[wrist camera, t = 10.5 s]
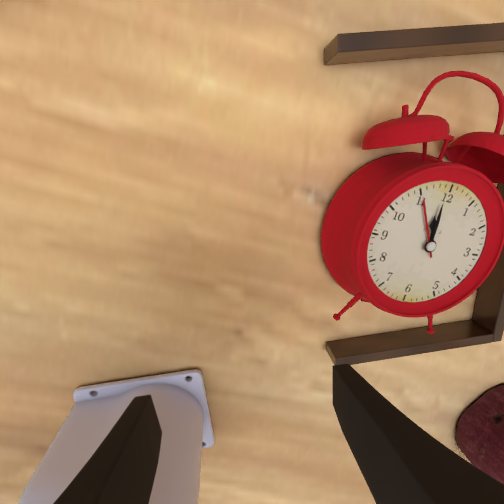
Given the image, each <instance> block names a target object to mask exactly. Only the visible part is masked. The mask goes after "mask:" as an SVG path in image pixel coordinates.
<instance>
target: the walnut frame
mask: <svg viewBox="0 0 504 504" xmlns="http://www.w3.org/2000/svg"><path fill="white" fill-rule="evenodd" d="M500 51H504V23H492V24H477V25H463V26H448V27H433V28H419V29H404V30H390V31H375V32H360V33H346V34H338V35H337V36H336V37H335V38H334V39H333V40H332V41H331V42H330V43H329V44H328V45H327V47H326V48H325V49H324V65H330V64H343V63H356V62H369V61H382V60H395V59H408V58H421V57H434V56H447V55H460V54H474V53H487V52H500ZM498 191H499V192H500V194H501V196H502V199H503V201H504V184H501V183H499V184H498ZM428 328H429V326H428V327H422V328H415V329H408V330H402V331H395V332H389V333H382V334H376V335H369V336H362V337H356V338H349V339H343V340H336V341H329V342H326V350H327V352H328V354H329V356H330V358H331V359H332V361H333V363H334V365H341V364H347V363H348V364H349V365H353V364H359V363H365V362H371V361H378V360H384V359H390V358H397V357H403V356H409V355H415V354H422V353H428V352H434V351H440V350H447V349H453V348H459V347H466V346H472V345H478V344H484V343H491V342H496V341H501V339H502V335H503V331H504V245H503V249H502V251H501V254H500V256H499V259H498V261H497V263H496V264H495V266H494V268H493V270H492V271H491V273H490V274H489V276H488V277H487V278H486V279H485V281H484V282H483V283H482V284H481V285H480V286H479V287H478V292H477V298H476V303H475V308H474V313H473V318H472V320H468V321H461V322H455V323H448V324H441V325H435V326H432V328H433V329H434V331H435V333H434V334H429V333H428V332H427V329H428Z"/></svg>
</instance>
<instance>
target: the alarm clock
mask: <svg viewBox="0 0 504 504" xmlns="http://www.w3.org/2000/svg"><path fill="white" fill-rule="evenodd" d="M454 76H460V77H466V78H471V79H474V80H477V81H479V82H481V83H483V84H485V85H486V86H488V87H489V88H490V89H491V90H492V91H493V92H494V93H495V94H496V97H497V99H498V103H499V113H498V120H497V125H496V129H495V132H494V133H491V132H472V133H467V134H465V135H462V136H461V137H459V138H457V139H456V140H454V141H453V139H454V137H453V136H450V135H449V132H450V131H449V124H448V123H447V121H446V120H445V119H443V118H442V117H439V116H434V115H417V114H418V112H419V111H420V109H421V107H422V105H423V103H424V101H425V99H426V97H427V96H428V94H429V92H430V91H431V89H432V88H433V87H434V86H435V85H436V83H438V82H439V81H441V80H442V79H445V78H447V77H454ZM408 107H409V106H408V105H404V106H402V117H401V118H397V119H392V120H389V121H386V122H383V123H380V124H377V125H375V126H374V127H372V128H371V129H370V130H368V131H367V132H366V134H365V136H364V139H363V146H362V150H367V149H377V148H385V147H393V146H401V145H409V144H416V143H423V153H415V152H405V153H397V154H391V155H387V156H384V157H381V158H378V159H376V160H374V161H372V162H370V163H368V164H366V165H365V166H363V167H361V168H360V169H359V170H357V171H356V172H355V173H354V174H352V175H351V176H350V177H349V178H348V179H347V180H346V181H345V182H344V184H343V185H342V186H341V187H340V188H339V190H338V191H337V193H336V194H335V196H334V197H333V199H332V201H331V203H330V205H329V207H328V209H327V212H326V215H325V217H324V221H323V226H322V232H321V248H322V254H323V258H324V262H325V264H326V267H327V269H328V271H329V272H330V274H331V276H332V277H333V278H334V280H335V281H336V282H337V283H338V284H339V285H340V286H341V287H342V288H343V289H344V290H346V291H347V292H349V293H350V294H352V295H354V296H355V297H354V298H353V299H351V300H350V301H349V302H348V303H347V305H346V306H345V307H344V308H343V309H342V310H341V311H340V312H339V313H338V314H334V315H333V318H334V319H335V320H336V321H337V320H340V316H341V315H342V314H343V313H344V312H345V311H346V310H347V309H349V308H350V307H352V306H353V305H354V304H355V303H356V302H357V301H358V300H359V299H360V298H361V299H360V300H361V301H364V302H370V303H371V304H373V305H374V306H376V307H377V308H379V309H381V310H383V311H386V312H388V313H392V314H394V315H398V316H402V317H425V316H427V318H428V325H429V328H428V329H427V332H428V333H429V334H434V333H435V331H434V329H433V328H432V319H433V315H434V314H437V313H440V312H443V311H445V310H448V309H450V308H452V307H453V306H455V305H457V304H459V303H460V302H462V301H463V300H464V299H466V298H467V297H469V296H470V295H471V294H472V293H473V292H474V291H475V290H476V289H477V288H478V287H479V286H480V285H481V284H482V283H483V282H484V281H485V279H486V278H487V277H488V276H489V274H490V273H491V271H492V270H493V268H494V266H495V264H496V263H497V261H498V259H499V256H500V254H501V251H502V249H503V245H504V201H503V199H502V196H501V194H500V192H499V191H498V189H497V188H496V186H495V185H494V184H493V183H501V184H504V135H500V130H501V127H502V124H503V119H504V96H503V94H502V91H501V90H500V89H499V87H498V86H497V85H496V84H495V83H493V82H492V81H491V80H489V79H487V78H485V77H483V76H481V75H478V74H476V73H471V72H466V71H450V72H447V73H444V74H442V75H440V76H438V77H436V78H435V79H434V80H433V81H432V82H431V83H430V84H429V86H428V87H427V88H426V90H425V91H424V93H423V95H422V97H421V99H420V101H419V103H418V105H417V107H416V109H415V111H414V112H413V113H412V114H410V115H408ZM437 140H445V142H444V145H443V147H442V150H441V153H440V155H439V158H435V157H433V156H430V155H427V154H426V152H427V142H430V141H437ZM452 141H453V142H452ZM449 142H452V143H451V144H450V145H449V147H448V148H447V145H448V143H449ZM446 148H447V150H446ZM445 151H446V152H445ZM444 153H445V154H446V156H447V158H448V160H449V161H450V162H451V163H450V162H443V161H442V158H443V156H444Z"/></svg>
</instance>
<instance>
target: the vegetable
mask: <svg viewBox="0 0 504 504" xmlns="http://www.w3.org/2000/svg"><path fill="white" fill-rule="evenodd" d="M456 428H457V431H456V443H457V445H458V446H459V448H460V450H461V451H462V452H463V453H464V455H465V456H466V457H467V458H468V460H469V461H470V462H471V463H472V464H473V466H475V467H477V468H478V469H480V470H481V471H483V472H485V473H486V474H488V475H489V476H491V477H493V478H494V479H496V480H497V481H499V482H501V483H502V484H504V385H500V386H497V387H495V388H493V389H491V390H490V391H487V392H486V393H485V394H484V395H482V396H481V397H480V398H479V399H478V400H476V401H475V402H474V404H472V405H471V407H469V408H468V409H467V410H466V411H465V412H464V413H463V414H462V416H461V417H460V419H459V422H458V425H457V427H456Z"/></svg>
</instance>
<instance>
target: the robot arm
mask: <svg viewBox="0 0 504 504" xmlns="http://www.w3.org/2000/svg"><path fill="white" fill-rule="evenodd" d="M187 376H190V378H188V377H187ZM94 391H96V392H94ZM73 398H74V400H75V405H74V406H73V408H72V410H71V411H70V413H69V415H68V416H67V418H66V420H65V421H64V423H63V425H62V426H61V428H60V430H59V431H58V433H57V435H56V436H55V438H54V440H53V441H52V443H51V445H50V447H49V448H48V450H47V452H46V453H45V455H44V457H43V458H42V460H41V462H40V463H39V465H38V467H37V468H36V470H35V472H34V473H33V475H32V477H31V478H30V480H29V482H28V484H27V486H26V487H25V489H24V491H23V494H22V496H21V498H20V500H19V503H18V504H198V502H199V487H200V471H201V455H202V448H208V447H211V446H213V445H214V434H213V428H212V423H211V418H210V413H209V407H208V402H207V397H206V392H205V387H204V381H203V376H202V372H201V371H200V370H198V369H193V370H187V371H180V372H174V373H167V374H161V375H154V376H148V377H141V378H135V379H128V380H122V381H115V382H109V383H102V384H96V385H89V386H83V387H78V388H76V389H75V391H74V393H73ZM333 406H334V409H335V412H336V415H337V418H338V420H339V423H340V426H341V429H342V431H343V434H344V436H345V438H346V440H347V442H348V444H349V446H350V449H351V451H352V453H353V455H354V457H355V459H356V461H357V463H358V466H359V468H360V470H361V472H362V474H363V476H364V478H365V480H366V482H367V484H368V487H369V489H370V491H371V493H372V495H373V497H374V499H375V502H376V504H504V484H502V483H501V482H499V481H497V480H496V479H494V478H493V477H491V476H489V475H488V474H486V473H485V472H483V471H481V470H480V469H478V468H477V467H475V466H473V465H472V464H470V463H469V462H467V461H466V460H464V459H463V458H461V457H460V456H458V455H457V454H455V453H454V452H453V451H451V450H450V449H448V448H447V447H446V446H444V445H443V444H441V443H440V442H439V441H437V440H436V439H435V438H433V437H432V436H431V435H429V434H428V433H427V432H425V431H424V430H423V429H421V428H420V427H419V426H418V425H416V424H415V423H414V422H413V421H411V420H410V419H409V418H408V417H406V416H405V415H404V414H403V413H402V412H401V411H399V410H398V409H397V408H396V407H395V406H394V405H392V404H391V403H390V402H389V401H388V400H387V399H386V398H384V397H383V396H382V395H381V394H380V393H379V392H378V391H377V390H375V389H374V388H373V387H372V386H371V385H370V384H369V383H368V382H367V381H366V380H365V379H364V378H363V377H362V376H361V375H360V374H358V373H357V372H356V371H355V370H354V369H353V368H352V367H351V366H350V365H349V364H348V363H347V364H341V365H334V366H333Z"/></svg>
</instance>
